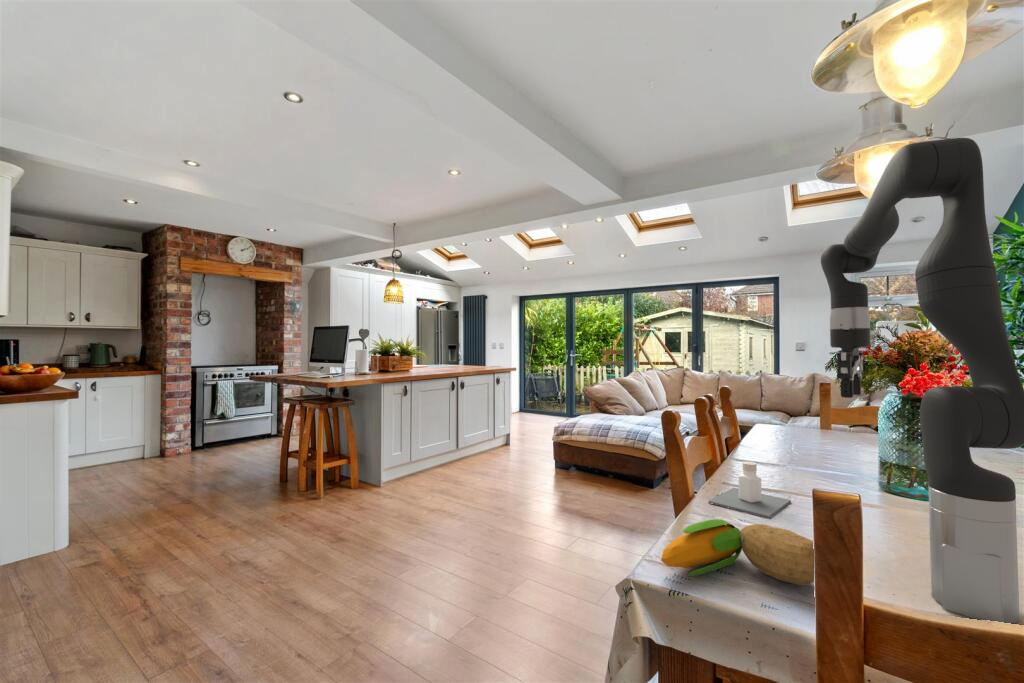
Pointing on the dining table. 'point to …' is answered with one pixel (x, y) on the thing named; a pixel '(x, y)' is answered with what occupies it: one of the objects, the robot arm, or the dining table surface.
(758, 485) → the pepper shaker
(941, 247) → the robot arm
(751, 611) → the dining table surface
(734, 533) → the corn
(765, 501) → the slate mat
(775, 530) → the potato
